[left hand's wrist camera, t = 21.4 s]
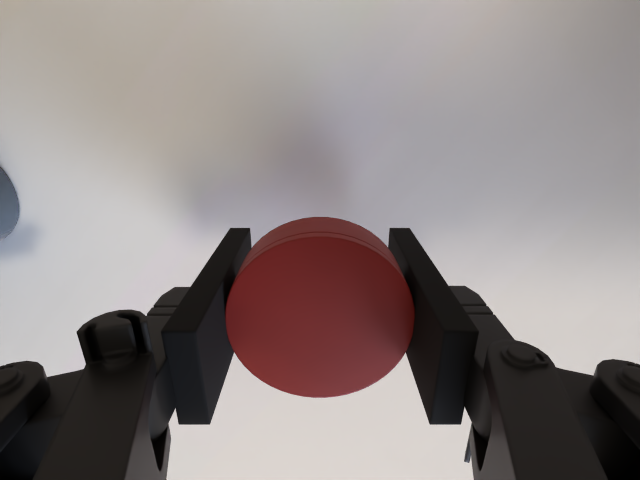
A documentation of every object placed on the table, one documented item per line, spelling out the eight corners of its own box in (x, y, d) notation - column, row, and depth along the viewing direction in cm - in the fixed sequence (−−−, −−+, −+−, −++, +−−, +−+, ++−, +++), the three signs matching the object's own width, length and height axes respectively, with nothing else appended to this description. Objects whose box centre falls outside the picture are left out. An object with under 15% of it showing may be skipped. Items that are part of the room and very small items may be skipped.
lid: (278, 185, 10) (270, 201, 9) (435, 261, 11) (453, 288, 10) (212, 326, 12) (197, 359, 11) (352, 381, 13) (357, 420, 12)
